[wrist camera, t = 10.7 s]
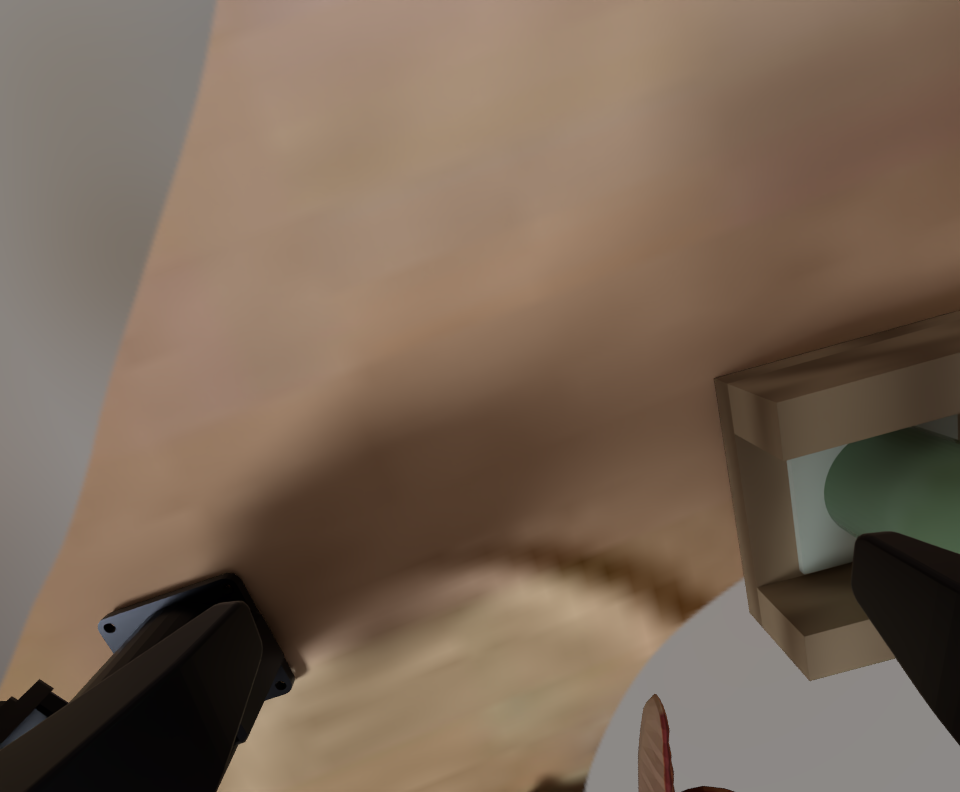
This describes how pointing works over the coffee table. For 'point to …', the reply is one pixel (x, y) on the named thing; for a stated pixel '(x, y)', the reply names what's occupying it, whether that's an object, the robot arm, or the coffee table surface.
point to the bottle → (898, 486)
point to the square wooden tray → (824, 475)
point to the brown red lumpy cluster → (658, 752)
